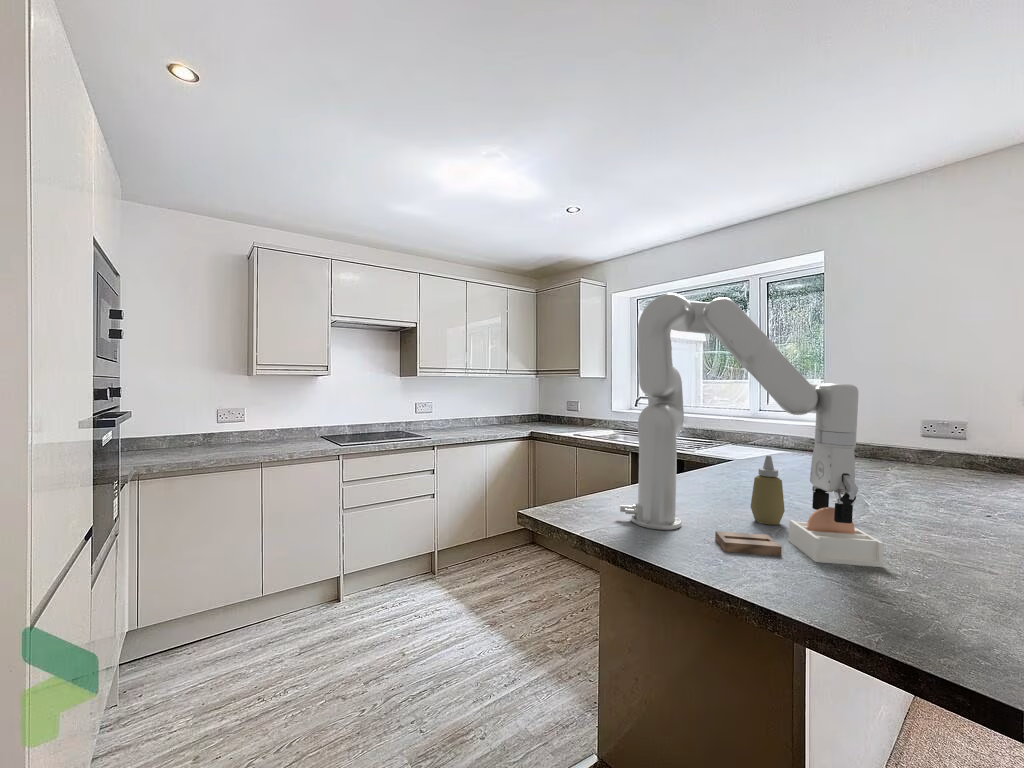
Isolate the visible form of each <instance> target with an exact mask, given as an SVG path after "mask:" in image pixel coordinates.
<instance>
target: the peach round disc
mask: <svg viewBox="0 0 1024 768" xmlns="http://www.w3.org/2000/svg"><path fill="white" fill-rule="evenodd" d="M834 513H835V507H833V506H832V507H831V506H829V507H824V508H820V509H818V510H815V511H813V513H811V515H810V516H809V518H808V521H807V522H808V524H807V528H808V531H820V532H834V533H848V534H854V532H855V528H856V527H855V523H854V522H853V520H852V523H838V522H835V521H834ZM854 527H855V528H854Z"/></svg>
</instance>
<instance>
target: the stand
mask: <svg viewBox="0 0 1024 768" xmlns="http://www.w3.org/2000/svg"><path fill="white" fill-rule="evenodd" d="M714 531H715V533H714V539H715V541H716V543H717V544H718V545H719V546H720V547H721V549H722V550H723V551H724V552H729V553H740V554H753V555H754V554H755V555H768V556H779V557H782V549H783V548H782V545H781V544H779V543H778V542H777V541H776V540H774V538H772V537H771V536H770V535H769V534H760V533H747V532H746V533H745V532H744V533H743V532H732V531H721V530H720V531H717V530H714Z"/></svg>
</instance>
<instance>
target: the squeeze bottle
mask: <svg viewBox="0 0 1024 768" xmlns="http://www.w3.org/2000/svg"><path fill="white" fill-rule="evenodd" d="M784 500H785V499H784V488H783V480H782V479H781V478H780V477H779V470H778V469H776V468H774V463H773V458H772V455H766V456H765V459H764V462H763V466H762V467H760V468H758V475H756V476H755V477H754V479H753V487H752V494H751V500H750V501H751V502H750V510H751V512H752V516H753V519H754V521H755V522H757V523H760V524H763V525H767V526H768V525H770V526H772V525H773V526H776V525H780V523H781V521H782V519H783V517H784V516H783V515H784V514H785V502H784Z"/></svg>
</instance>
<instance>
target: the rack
mask: <svg viewBox="0 0 1024 768" xmlns="http://www.w3.org/2000/svg"><path fill="white" fill-rule="evenodd" d="M807 524H808V521H807V522H805V521H795V520H792V519H789V524H788V525H789V528H788V529H789V530H788V531H789V532H788V533H789V534H788V541H789V542H790V543H791V544H792V545H793V546H795V547H796V548H798V550H800V551H801V552H802V553H803V554H805V555H806V556H807V557H808V558H810V559H811V560H812V561H813V562H814V563H824V564H838V565H847V566H849V565H851V566H862V567H872V568H873V567H875V568H884V556H885V555H884V550H885V547H884V546H885V543H884V542H882V541H880V540H879V539H877V538H876V537H873V536H872V535H870V534H868V533H866V532H864V531H863V530H860V529H859V528H857V527H856V526H854V528H855V532H854V534H848V533H834V532H820V531H808V528H807Z"/></svg>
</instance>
